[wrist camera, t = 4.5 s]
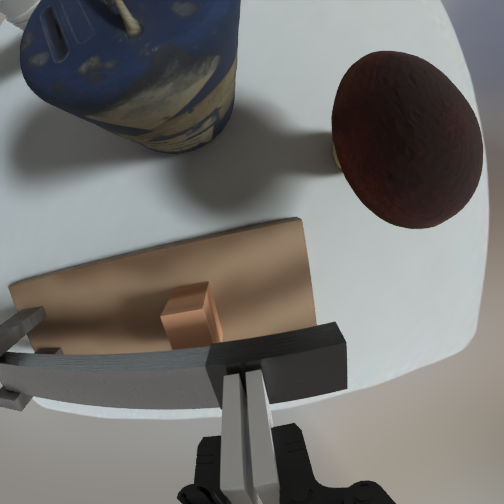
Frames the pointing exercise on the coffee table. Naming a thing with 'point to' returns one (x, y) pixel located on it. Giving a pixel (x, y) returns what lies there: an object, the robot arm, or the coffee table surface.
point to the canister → (137, 66)
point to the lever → (186, 372)
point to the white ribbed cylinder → (18, 11)
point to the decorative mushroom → (406, 139)
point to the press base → (168, 297)
